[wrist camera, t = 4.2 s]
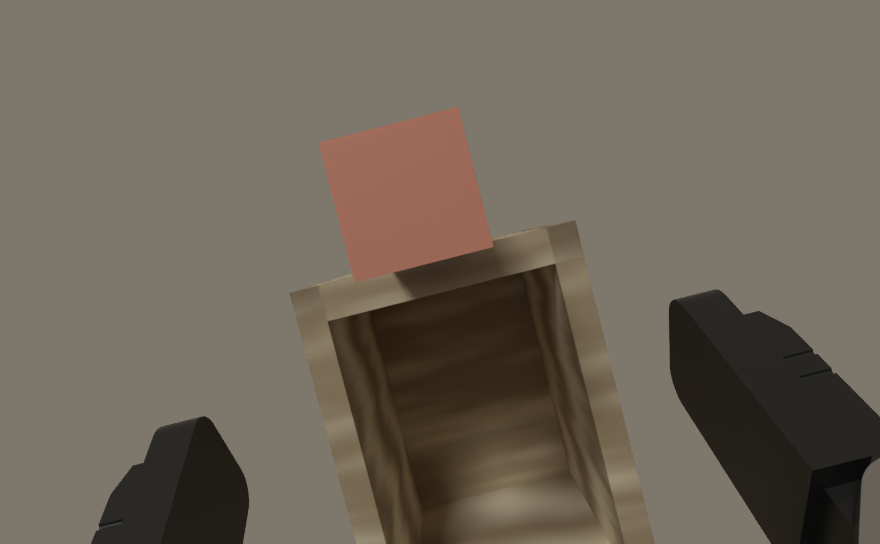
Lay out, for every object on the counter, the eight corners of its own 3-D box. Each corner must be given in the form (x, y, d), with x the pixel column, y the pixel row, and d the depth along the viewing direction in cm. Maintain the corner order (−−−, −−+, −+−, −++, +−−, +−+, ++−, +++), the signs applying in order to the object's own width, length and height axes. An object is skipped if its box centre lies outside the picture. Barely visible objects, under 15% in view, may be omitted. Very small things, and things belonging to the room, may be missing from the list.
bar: (493, 247, 15) (458, 106, 15) (354, 282, 15) (318, 142, 15) (461, 246, 41) (448, 194, 41) (410, 258, 41) (397, 207, 41)
